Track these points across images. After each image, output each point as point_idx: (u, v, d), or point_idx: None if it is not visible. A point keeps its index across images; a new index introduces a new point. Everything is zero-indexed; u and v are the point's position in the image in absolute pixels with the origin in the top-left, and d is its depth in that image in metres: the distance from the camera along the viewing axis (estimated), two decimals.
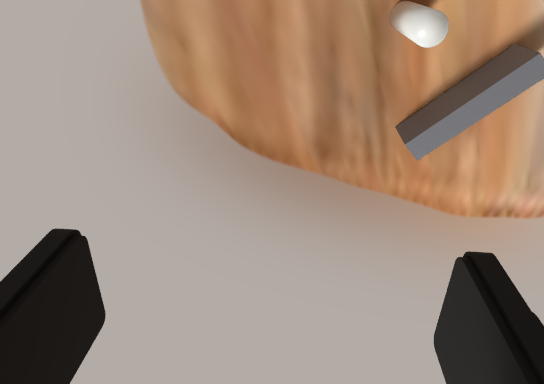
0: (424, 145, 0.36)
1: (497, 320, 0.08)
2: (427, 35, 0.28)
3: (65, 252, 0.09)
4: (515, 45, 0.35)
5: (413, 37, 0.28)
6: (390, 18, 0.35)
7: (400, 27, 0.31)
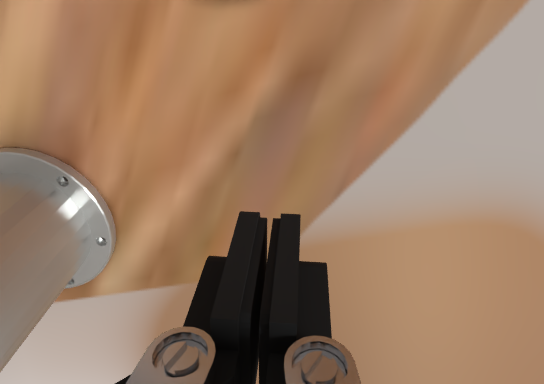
0: None
1: (271, 264, 0.09)
2: None
3: (263, 232, 0.10)
4: None
5: None
6: None
7: None
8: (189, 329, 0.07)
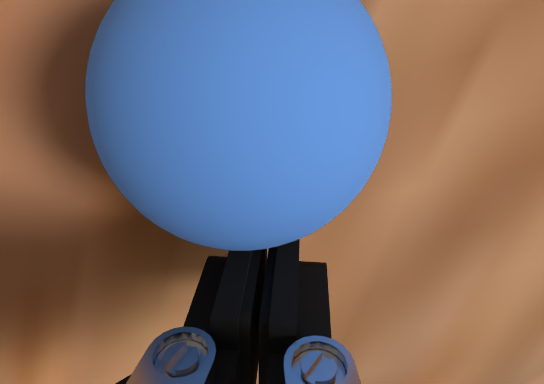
0: None
1: (270, 265, 0.09)
2: None
3: None
4: None
5: None
6: None
7: None
8: (189, 329, 0.07)
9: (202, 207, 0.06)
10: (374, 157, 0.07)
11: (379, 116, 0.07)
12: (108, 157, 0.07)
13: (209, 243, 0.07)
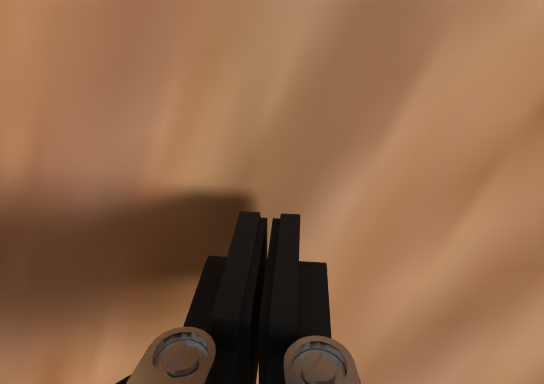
0: None
1: (270, 264, 0.09)
2: None
3: (263, 232, 0.10)
4: None
5: None
6: None
7: None
8: (189, 329, 0.07)
9: None
10: None
11: None
12: None
13: None
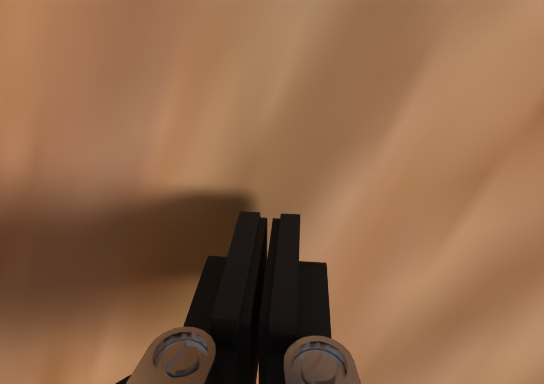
0: None
1: (270, 265, 0.09)
2: None
3: (263, 232, 0.10)
4: None
5: None
6: None
7: None
8: (189, 329, 0.07)
9: None
10: None
11: None
12: None
13: None
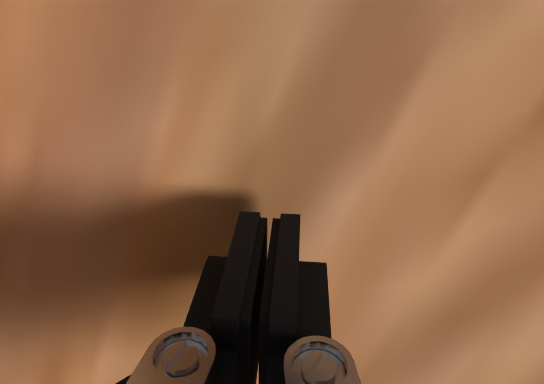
0: None
1: (270, 265, 0.09)
2: None
3: (263, 232, 0.10)
4: None
5: None
6: None
7: None
8: (189, 329, 0.07)
9: None
10: None
11: None
12: None
13: None
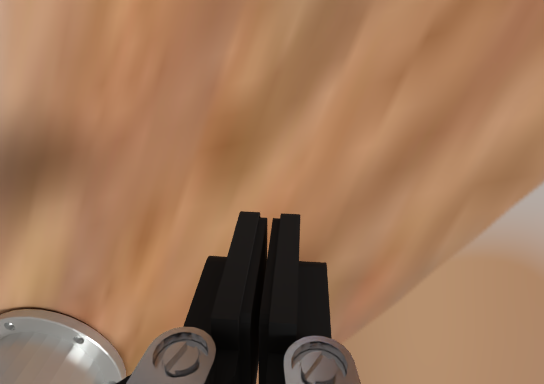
0: None
1: (270, 264, 0.09)
2: None
3: (263, 232, 0.10)
4: None
5: None
6: None
7: None
8: (189, 329, 0.07)
9: None
10: None
11: None
12: None
13: None
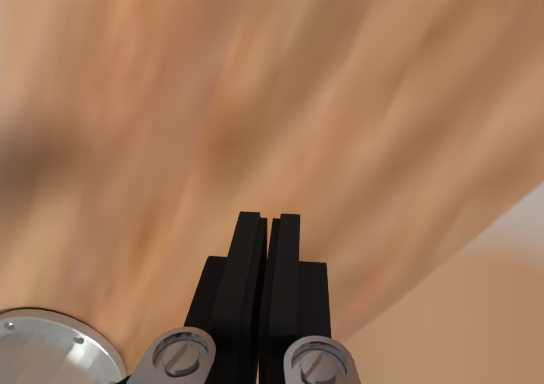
0: None
1: (270, 264, 0.09)
2: None
3: (263, 232, 0.10)
4: None
5: None
6: None
7: None
8: (189, 329, 0.07)
9: None
10: None
11: None
12: None
13: None
